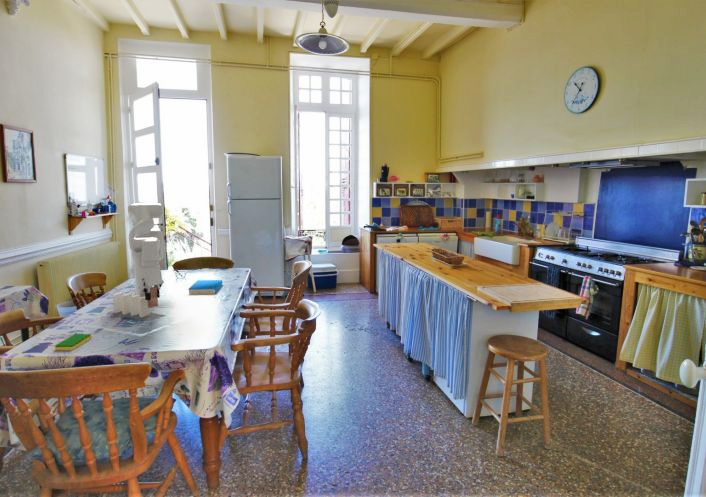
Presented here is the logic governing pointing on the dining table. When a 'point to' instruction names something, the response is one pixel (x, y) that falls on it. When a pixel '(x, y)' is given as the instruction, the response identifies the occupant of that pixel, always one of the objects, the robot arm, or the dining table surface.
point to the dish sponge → (73, 342)
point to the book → (205, 287)
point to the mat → (146, 318)
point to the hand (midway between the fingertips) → (152, 298)
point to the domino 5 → (153, 298)
